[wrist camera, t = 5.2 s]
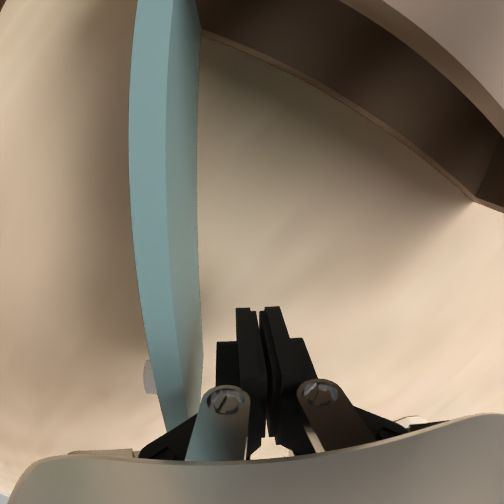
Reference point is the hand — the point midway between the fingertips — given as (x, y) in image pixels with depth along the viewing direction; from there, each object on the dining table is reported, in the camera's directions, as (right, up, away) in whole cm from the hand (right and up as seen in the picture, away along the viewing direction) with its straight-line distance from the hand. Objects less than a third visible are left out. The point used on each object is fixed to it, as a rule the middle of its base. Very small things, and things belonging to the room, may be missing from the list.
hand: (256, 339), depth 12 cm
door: (-4, +5, +1) cm, 7 cm away
